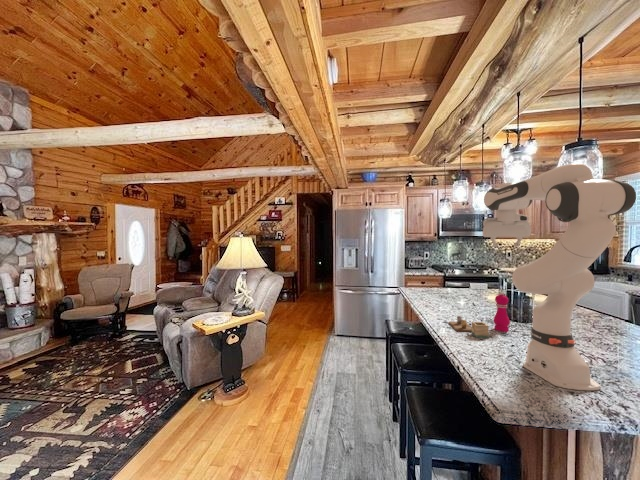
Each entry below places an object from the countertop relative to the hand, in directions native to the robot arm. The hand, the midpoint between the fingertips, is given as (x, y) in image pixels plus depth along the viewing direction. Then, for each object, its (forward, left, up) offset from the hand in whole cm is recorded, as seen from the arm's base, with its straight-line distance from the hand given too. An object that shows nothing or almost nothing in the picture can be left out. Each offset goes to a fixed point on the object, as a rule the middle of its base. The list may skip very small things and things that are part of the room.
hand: (506, 246), depth 137 cm
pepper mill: (+13, -4, -45) cm, 47 cm away
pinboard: (+14, +15, -44) cm, 49 cm away
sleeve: (+2, +11, -44) cm, 46 cm away
